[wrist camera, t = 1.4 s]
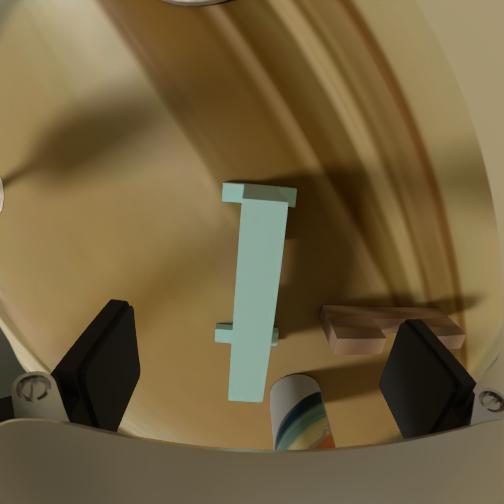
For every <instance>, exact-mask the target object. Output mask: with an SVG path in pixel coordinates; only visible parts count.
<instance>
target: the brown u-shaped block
mask: <svg viewBox="0 0 504 504" xmlns="http://www.w3.org/2000/svg"><path fill="white" fill-rule="evenodd" d="M406 319H421V320H422V321H423V322H424V323H425V324H426V325H427V326H428V327H429V328H430V330H431V331H432V332H433V333H434V334H435V335H436V336H437V337H438V338H439V340H440V341H441V342H442V343H443V344H444V345H445V346H446V348H447V349H458V348H461V346H462V344H463V341H464V339H465V336H466V334H465V333H464V332H463V331H462V330H461V329H460V328H459V327H458V326H457V325H456V324H455V323H454V322H453V321H452V320H451V319H450V318H449V317H448V316H447V315H446V314H445V313H444V312H443V311H442V310H441V309H439V308H438V307H367V306H337V305H322V309H321V314H320V318H319V320H320V322H321V325H322V327H323V330H324V332H325V335H326V337H327V340H328V343H329V345H330V348H331V350H332V353H333V355H357V354H381V353H382V351H383V348H384V345H385V342H386V339H387V338H386V337H385V335H384V334H383V333H397V332H398V329H399V326H400V324H401V323H403V322H404V321H405V320H406Z"/></svg>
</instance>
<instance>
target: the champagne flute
mask: <svg viewBox="0 0 504 504" xmlns="http://www.w3.org/2000/svg"><path fill="white" fill-rule="evenodd" d="M3 201H4V191H3V185H2V181H1V178H0V213H1V210H2V207H3Z"/></svg>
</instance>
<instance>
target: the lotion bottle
mask: <svg viewBox="0 0 504 504" xmlns="http://www.w3.org/2000/svg"><path fill="white" fill-rule="evenodd" d="M270 405H271V418H272V431H273V444H274V450H301V449H324V448H336V447H335V443H334V440H333V436H332V432H331V428H330V424H329V421H328V417H327V413H326V409H325V406H324V402H323V398H322V395H321V391H320V388H319V386H318V384H317V382H316V381H315V380H314V379H313V378H311V377H309V376H306V375H300V374H296V375H290V376H286V377H284V378H282V379H280V380H279V381H277V382H276V383H275V384H274V385H273V387H272V389H271V392H270Z"/></svg>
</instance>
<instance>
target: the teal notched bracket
mask: <svg viewBox="0 0 504 504" xmlns="http://www.w3.org/2000/svg"><path fill="white" fill-rule="evenodd" d="M296 194H297V189H296V188H290V187H280V186H269V185H258V184H245V183H232V182H224V183H223V194H222V201H226V202H239V203H242V207H241V220H240V233H239V246H238V260H237V273H236V287H235V301H234V316H233V325H227V324H216V328H215V342H223V343H232V346H231V362H230V378H229V394H228V400H231V401H247V402H262V401H263V394H264V388H265V381H266V374H267V367H268V361H269V354H270V347H271V346H277V340H278V334H279V333H278V328H273V325H274V318H275V310H276V303H277V295H278V287H279V279H280V271H281V263H282V255H283V246H284V238H285V229H286V220H287V211H288V207H295V204H296Z"/></svg>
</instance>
